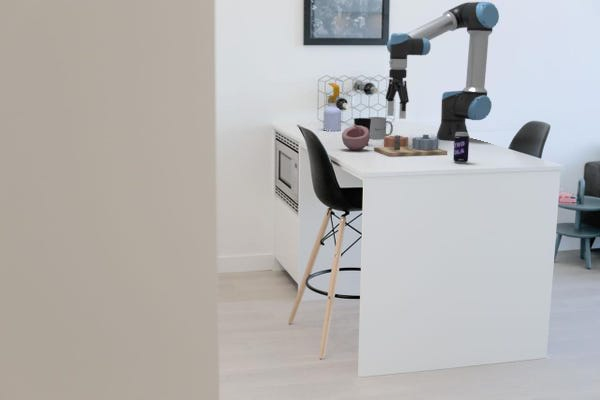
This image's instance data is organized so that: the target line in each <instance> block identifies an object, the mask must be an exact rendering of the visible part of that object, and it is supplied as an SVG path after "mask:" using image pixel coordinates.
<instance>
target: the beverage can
mask: <svg viewBox="0 0 600 400" xmlns="http://www.w3.org/2000/svg"><path fill="white" fill-rule="evenodd" d="M453 141H454V142H453V160H452V161H453V162H454V163H455V164H460V163H464V164H467V162H469V148H470V143H469V142H470V135H469V132H456V134H455V136H454V140H453Z"/></svg>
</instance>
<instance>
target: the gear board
mask: <svg viewBox="0 0 600 400" xmlns="http://www.w3.org/2000/svg"><path fill="white" fill-rule="evenodd" d="M394 136H395V144H394V147H384V146H379V147H376V146H375V147H373V151H374V152H376V153H378V154H382V155H384V156H387V157H389V158H390V157H391V158H392V157H393V158H394V157H417V156H418V157H421V156H424V157H425V156H426V157H427V156H447V155H448V151H447V150H444V149H441V148H438V149H436V150H428V151H424V150H415V149H412V145H411V146H409V145H408V147H400V136H401V135H394ZM422 137H423V139H428V137H429V134H423V135H422Z"/></svg>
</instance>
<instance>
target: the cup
mask: <svg viewBox="0 0 600 400" xmlns="http://www.w3.org/2000/svg"><path fill="white" fill-rule="evenodd" d="M370 124H371V119H370V118H369V117H355V118H354V119H353V126H354V125H357V126H363V127H366V128H367V129H368V130H369V132H370ZM368 146H369V143H368V144H367V145H366V146H365V147H368Z"/></svg>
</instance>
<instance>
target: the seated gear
mask: <svg viewBox="0 0 600 400" xmlns="http://www.w3.org/2000/svg"><path fill="white" fill-rule="evenodd" d="M411 139H412V141H411V142H412V145H411V146H412V149H415V150H424V151H428V150H436V149H439V144H440V143H439V142H440V141H439V140H440V139H437V137H429V136H428V139H423V136H422V137H421V136H415V137H412V138H411Z"/></svg>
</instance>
